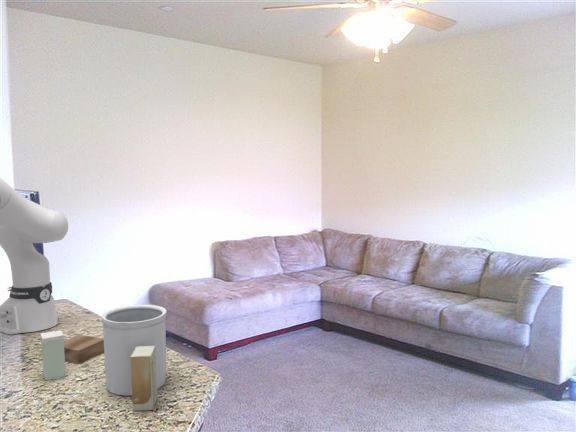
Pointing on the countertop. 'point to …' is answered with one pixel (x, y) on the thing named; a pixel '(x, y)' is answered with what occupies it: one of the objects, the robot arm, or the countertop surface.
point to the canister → (53, 355)
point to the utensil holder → (132, 343)
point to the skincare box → (144, 378)
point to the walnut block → (82, 348)
